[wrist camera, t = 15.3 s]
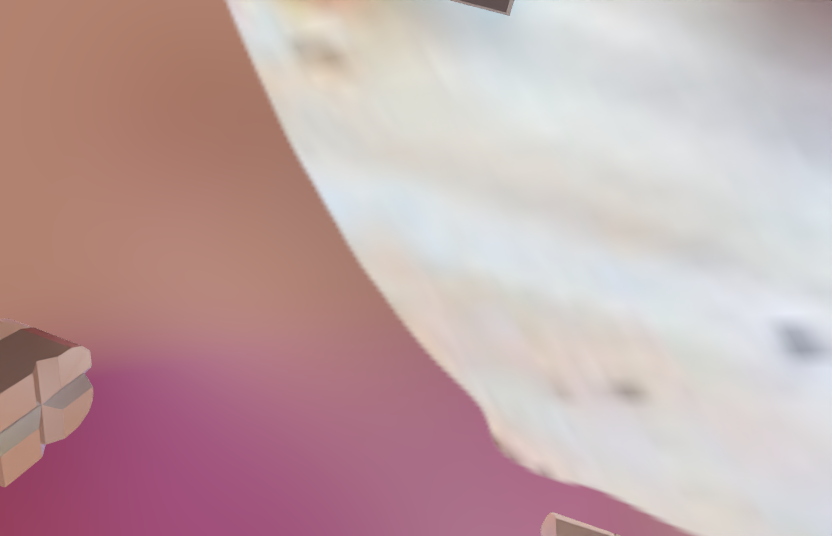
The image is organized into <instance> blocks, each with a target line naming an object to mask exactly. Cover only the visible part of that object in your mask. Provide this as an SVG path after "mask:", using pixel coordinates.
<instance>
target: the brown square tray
mask: <svg viewBox="0 0 832 536" xmlns="http://www.w3.org/2000/svg"><path fill="white" fill-rule="evenodd" d="M451 1H455V2H459V3H463V4H466V5H470V6H474V7H478V8H482V9H486V10H489V11H493V12H497V13H501V14H505V15H509V16H510V12H511V9H512V5H513V2H514V0H451Z"/></svg>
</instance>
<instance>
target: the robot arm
mask: <svg viewBox="0 0 832 536" xmlns="http://www.w3.org/2000/svg"><path fill="white" fill-rule="evenodd" d="M90 367H92V364H91V355H90V351H89V350H88V349H86V348H85V347H83V346H81V345H78V344H76V343H73V342H70V341H68V340H65V339H63V338H60V337H57V336H55V335H52V334H50V333H47V332H44V331H42V330H39V329H37V328H34V327H30V326H28V325H25V324H22V323H20V322H17V321H15V320H12V319H9V318H6V319H0V486H3V487H6V486H8V485H9V484H10V483H11V482H13V481H14V480H15V479H16V478H17V477H19V476H20V475H21V474H22V473H24V472H25V471H26V470H27V469H28V468H29V467H31V466H32V465H33V464H34V463H36V462H37V461H38V460H39V459H40V458H42V455H43V452H44V448H45V445H46V444H48V443H52V442H55V441H58V440H61V439H64V438H66V437H67V436H68V435H69V434H70V433H71V432H73V431H74V430H75V429H76V428H77V427H78V426H79V425H80V424H81V422H82V421H83V419H84V418H85V416H86V415H87V413H88V412H89V410H90V407H91V403H92V399H93V386H92V385H91V383H90V381H89V380H88V378H87V377H86V375H85V374H84V373H85V372H86V371H87V370H88V369H89V368H90ZM541 536H620V535H617V534H613V533H611V532H609V531H606V530H603V529H600V528H597V527H594V526H591V525H588V524H585V523H582V522H579V521H577V520H574V519H570V518H568V517H565V516H562V515H559V514H556V513H553V512H551V513H550V514H549V515H548V516H547V517H546V518H545V520H544V522H543V524H542V526H541Z"/></svg>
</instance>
